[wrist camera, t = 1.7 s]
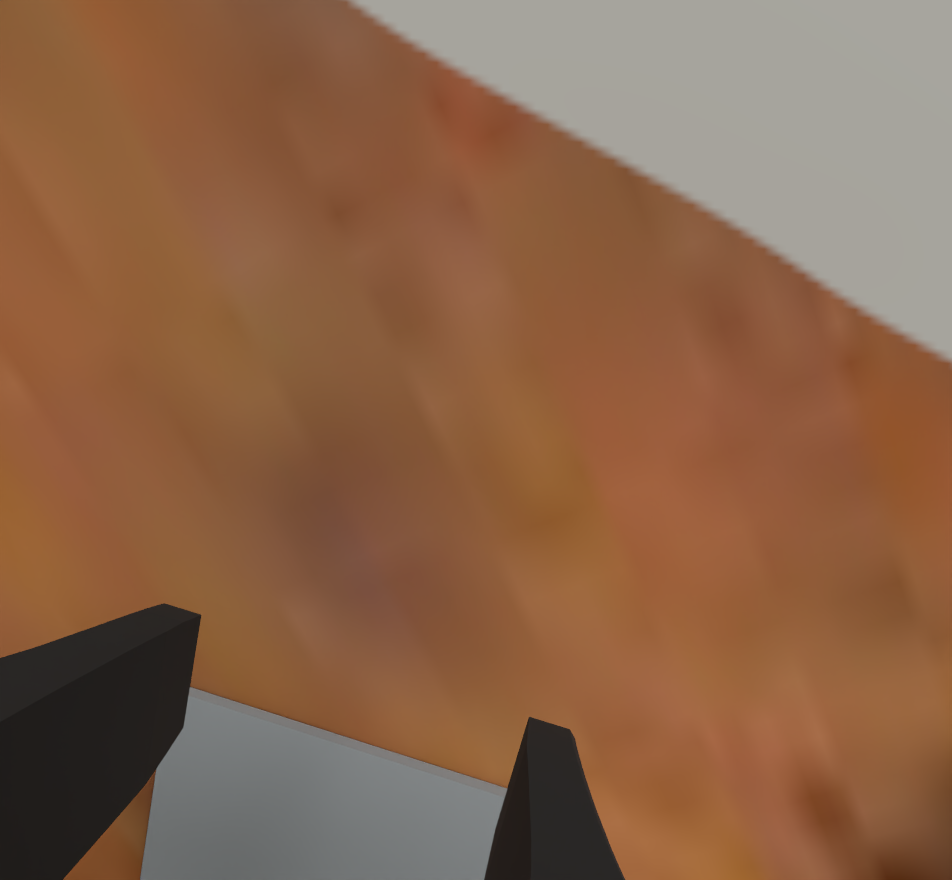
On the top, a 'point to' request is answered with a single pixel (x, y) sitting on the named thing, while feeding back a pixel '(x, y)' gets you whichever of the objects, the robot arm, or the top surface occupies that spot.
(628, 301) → the top surface
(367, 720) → the top surface
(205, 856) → the grey flat panel
